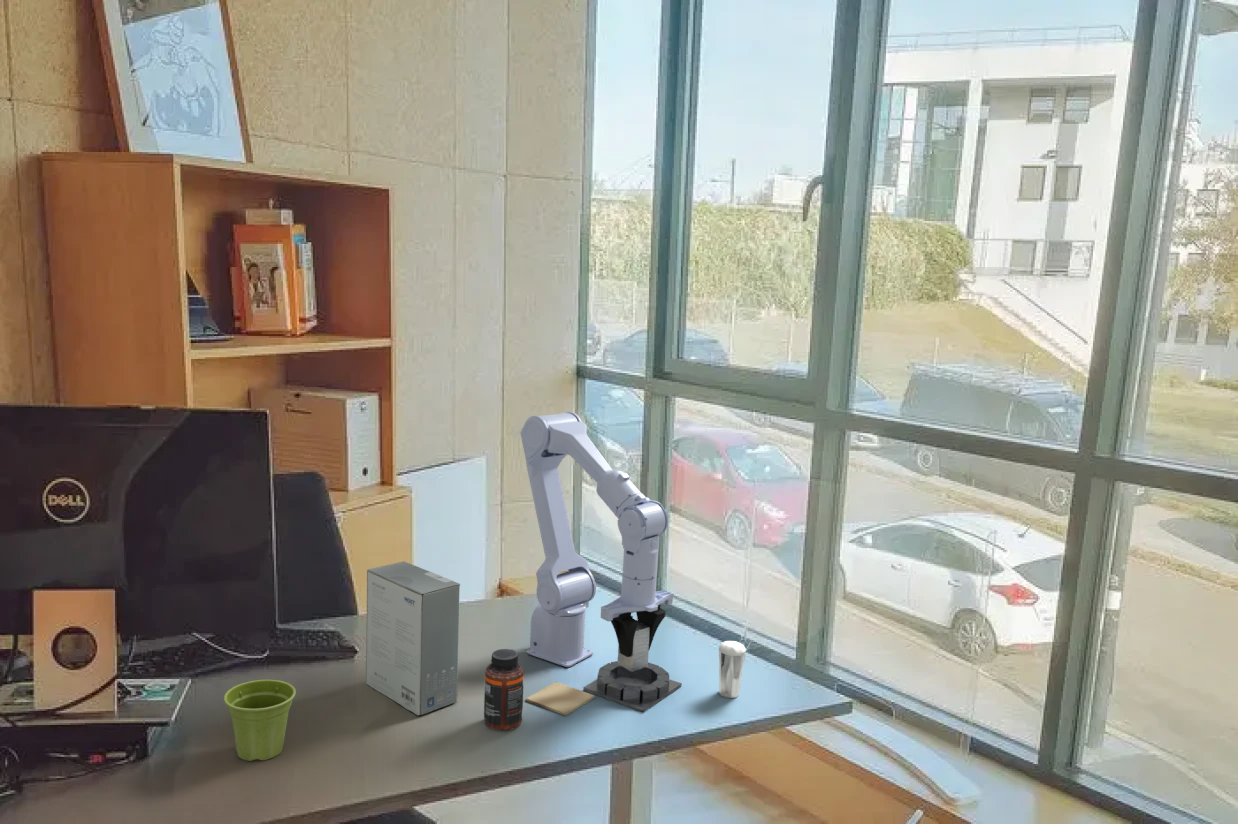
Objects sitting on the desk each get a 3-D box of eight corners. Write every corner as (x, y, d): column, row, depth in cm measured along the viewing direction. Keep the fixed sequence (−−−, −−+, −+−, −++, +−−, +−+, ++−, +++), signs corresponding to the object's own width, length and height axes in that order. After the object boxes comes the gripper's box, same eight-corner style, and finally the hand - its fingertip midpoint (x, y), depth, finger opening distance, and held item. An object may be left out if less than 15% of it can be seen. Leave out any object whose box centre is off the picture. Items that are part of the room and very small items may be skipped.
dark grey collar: (583, 690, 160) (584, 676, 159) (622, 667, 169) (623, 654, 169) (643, 712, 153) (644, 698, 153) (681, 686, 163) (682, 673, 162)
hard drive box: (458, 703, 153) (462, 584, 150) (419, 718, 147) (421, 594, 144) (402, 671, 163) (404, 559, 160) (363, 684, 158) (364, 568, 154)
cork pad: (525, 700, 155) (525, 698, 155) (556, 683, 161) (556, 681, 161) (565, 715, 150) (565, 713, 150) (594, 697, 157) (594, 695, 157)
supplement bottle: (528, 718, 149) (531, 650, 147) (512, 735, 143) (514, 664, 142) (494, 710, 151) (496, 643, 149) (476, 727, 145) (478, 657, 143)
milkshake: (746, 702, 158) (750, 645, 157) (714, 698, 159) (718, 641, 158) (748, 690, 163) (752, 635, 161) (716, 686, 164) (721, 631, 162)
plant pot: (265, 728, 142) (264, 673, 140) (309, 747, 137) (309, 690, 136) (210, 754, 134) (209, 696, 132) (255, 775, 129) (255, 715, 128)
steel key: (631, 671, 158) (634, 631, 157) (617, 664, 161) (619, 624, 160) (647, 666, 161) (649, 627, 160) (633, 658, 163) (635, 620, 162)
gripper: (622, 589, 150) (617, 671, 152) (687, 573, 160) (682, 650, 162) (594, 577, 155) (589, 655, 158) (658, 561, 165) (653, 636, 167)
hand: (634, 651), depth 160 cm, fingers closed on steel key, 4 cm apart
